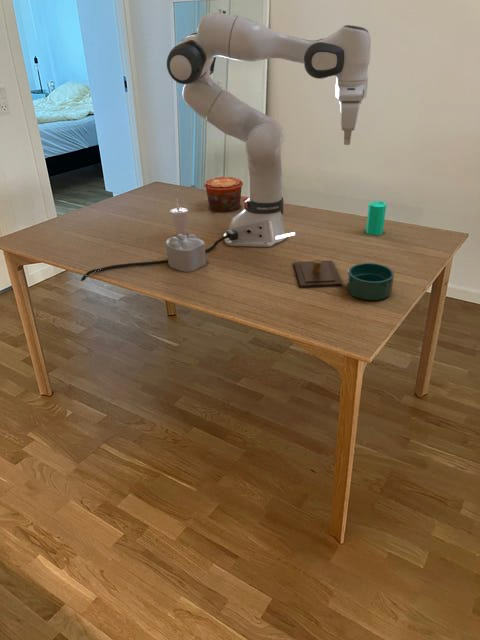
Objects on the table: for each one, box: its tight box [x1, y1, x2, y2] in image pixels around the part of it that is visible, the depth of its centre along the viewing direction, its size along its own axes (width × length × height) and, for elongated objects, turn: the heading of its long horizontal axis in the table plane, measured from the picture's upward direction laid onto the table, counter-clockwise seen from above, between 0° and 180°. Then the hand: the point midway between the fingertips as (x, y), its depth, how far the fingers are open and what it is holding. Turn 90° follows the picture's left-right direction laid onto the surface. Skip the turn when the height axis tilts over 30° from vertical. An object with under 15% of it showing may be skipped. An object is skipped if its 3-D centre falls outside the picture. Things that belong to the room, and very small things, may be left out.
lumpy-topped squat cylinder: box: [165, 233, 207, 273], centre depth 159 cm, size 10×13×9 cm
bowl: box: [346, 262, 395, 301], centre depth 139 cm, size 12×12×6 cm
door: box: [293, 259, 343, 289], centre depth 149 cm, size 12×16×4 cm
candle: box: [365, 200, 387, 236], centre depth 175 cm, size 6×6×12 cm
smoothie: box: [169, 198, 189, 236], centre depth 178 cm, size 6×6×14 cm
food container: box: [203, 176, 244, 213], centre depth 204 cm, size 16×16×11 cm
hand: (347, 140), depth 149 cm, fingers open, 8 cm apart
